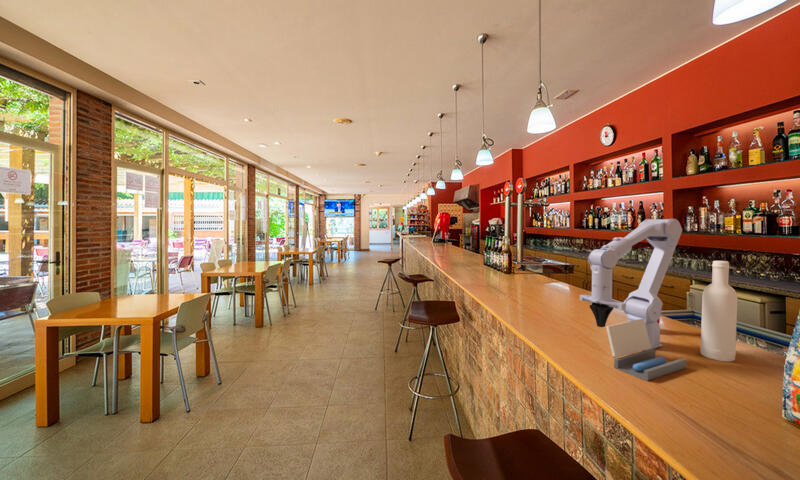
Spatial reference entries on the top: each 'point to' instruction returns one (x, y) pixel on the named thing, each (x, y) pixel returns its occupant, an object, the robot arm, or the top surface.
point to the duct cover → (628, 337)
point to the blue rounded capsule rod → (649, 363)
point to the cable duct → (650, 373)
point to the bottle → (719, 316)
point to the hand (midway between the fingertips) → (601, 326)
